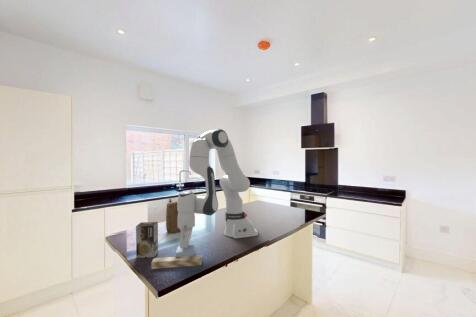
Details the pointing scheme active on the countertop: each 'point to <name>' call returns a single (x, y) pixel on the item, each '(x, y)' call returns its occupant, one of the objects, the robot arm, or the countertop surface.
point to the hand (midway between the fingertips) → (186, 249)
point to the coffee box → (146, 239)
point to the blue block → (185, 251)
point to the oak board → (177, 261)
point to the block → (172, 218)
